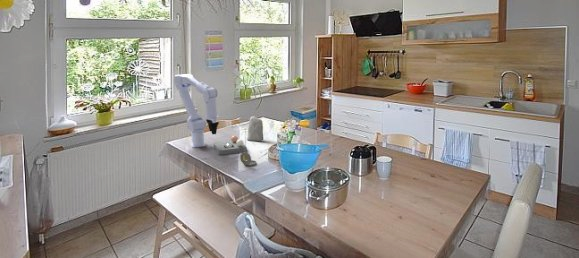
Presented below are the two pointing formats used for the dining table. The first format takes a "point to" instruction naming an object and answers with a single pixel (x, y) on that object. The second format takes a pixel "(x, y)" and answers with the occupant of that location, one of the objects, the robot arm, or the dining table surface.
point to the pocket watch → (246, 158)
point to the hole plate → (222, 150)
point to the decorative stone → (255, 129)
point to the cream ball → (239, 142)
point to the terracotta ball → (234, 138)
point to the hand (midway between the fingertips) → (212, 132)
